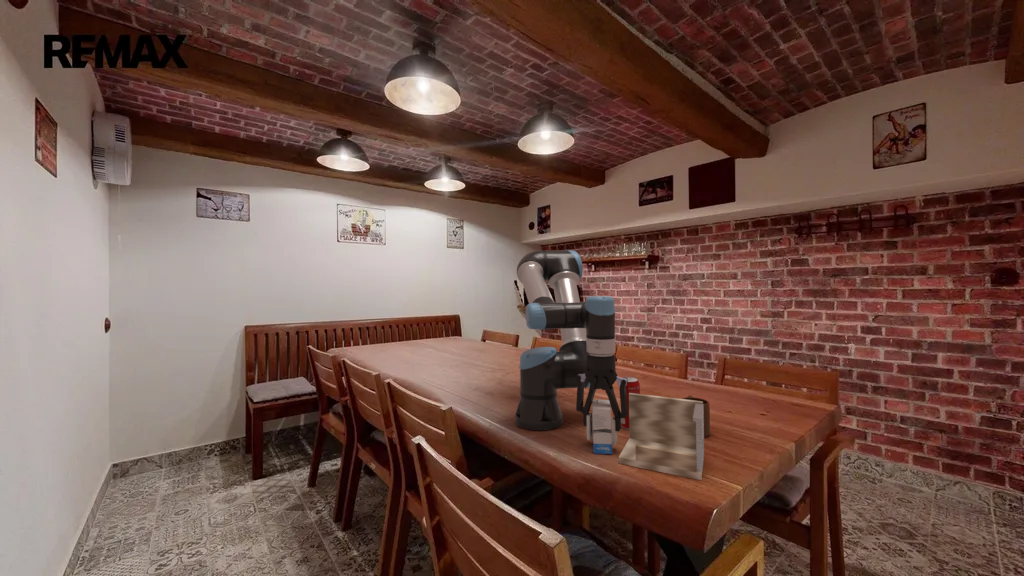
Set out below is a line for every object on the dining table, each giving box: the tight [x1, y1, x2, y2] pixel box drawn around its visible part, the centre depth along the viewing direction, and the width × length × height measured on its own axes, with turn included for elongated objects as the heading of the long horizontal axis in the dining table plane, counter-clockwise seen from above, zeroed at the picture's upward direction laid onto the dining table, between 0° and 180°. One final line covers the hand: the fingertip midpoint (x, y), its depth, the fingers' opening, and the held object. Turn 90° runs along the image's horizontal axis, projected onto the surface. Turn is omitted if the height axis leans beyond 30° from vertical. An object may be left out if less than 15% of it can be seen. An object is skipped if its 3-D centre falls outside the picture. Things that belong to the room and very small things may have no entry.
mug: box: [681, 395, 711, 438], centre depth 112 cm, size 12×8×9 cm, turn 166°
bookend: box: [693, 403, 705, 473], centre depth 90 cm, size 2×12×12 cm, turn 152°
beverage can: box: [621, 376, 641, 431], centre depth 115 cm, size 6×6×15 cm
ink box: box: [591, 398, 613, 455], centre depth 101 cm, size 9×5×12 cm, turn 168°
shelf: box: [618, 393, 703, 481], centre depth 94 cm, size 18×14×14 cm
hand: (602, 440), depth 101 cm, fingers closed on ink box, 6 cm apart
